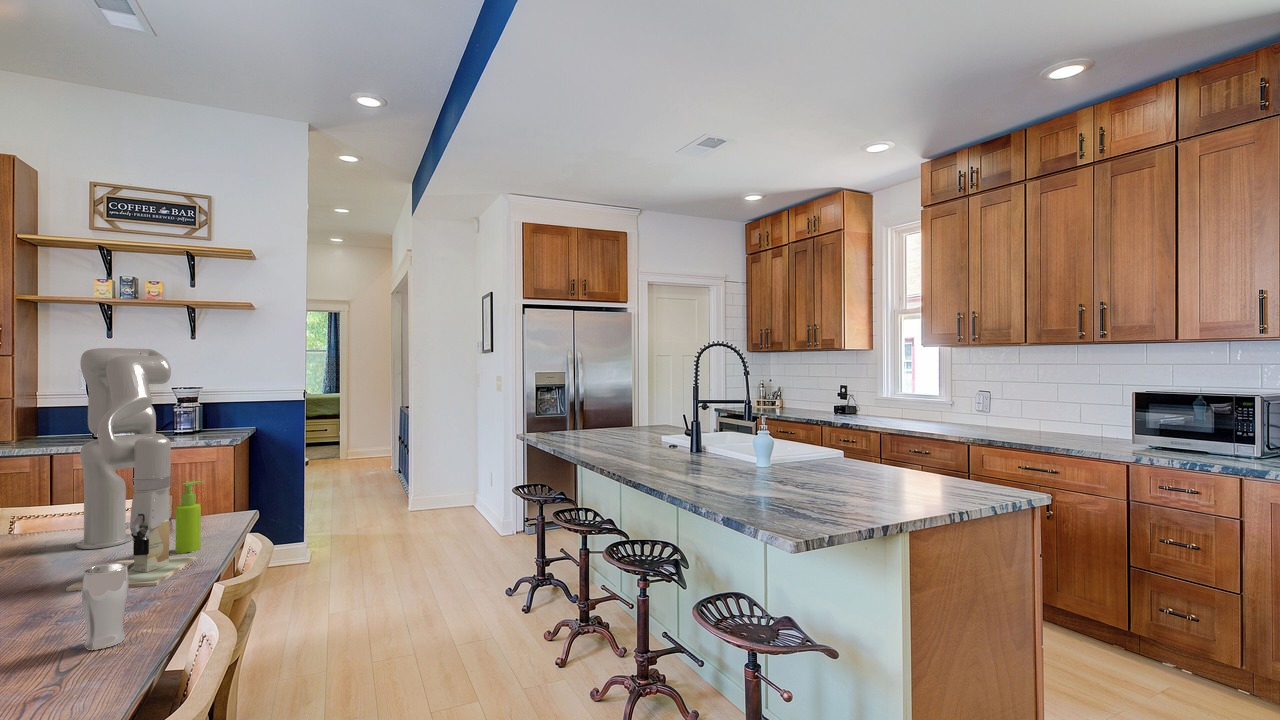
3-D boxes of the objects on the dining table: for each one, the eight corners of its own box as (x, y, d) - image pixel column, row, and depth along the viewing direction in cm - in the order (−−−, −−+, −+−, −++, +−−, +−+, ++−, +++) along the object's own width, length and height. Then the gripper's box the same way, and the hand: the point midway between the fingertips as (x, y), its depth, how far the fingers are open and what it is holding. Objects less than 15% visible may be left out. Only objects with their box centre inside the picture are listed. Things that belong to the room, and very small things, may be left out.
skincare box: (146, 572, 157) (147, 525, 157) (132, 571, 158) (133, 524, 158) (170, 564, 163) (170, 519, 163) (157, 563, 164) (157, 518, 164)
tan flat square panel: (117, 563, 166) (117, 560, 166) (196, 559, 171) (196, 555, 171) (66, 591, 147) (66, 587, 147) (156, 585, 151) (156, 581, 151)
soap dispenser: (208, 547, 181) (209, 480, 181) (184, 554, 175) (185, 485, 175) (194, 545, 183) (195, 479, 183) (170, 552, 177) (171, 483, 177)
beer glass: (100, 636, 124) (100, 562, 124) (136, 635, 124) (137, 561, 124) (71, 652, 117) (71, 574, 117) (110, 651, 117) (110, 573, 117)
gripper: (154, 478, 168) (153, 540, 168) (115, 491, 151) (114, 560, 151) (185, 477, 170) (184, 538, 170) (150, 490, 153) (149, 558, 153)
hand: (151, 549), depth 160 cm, fingers open, 9 cm apart
